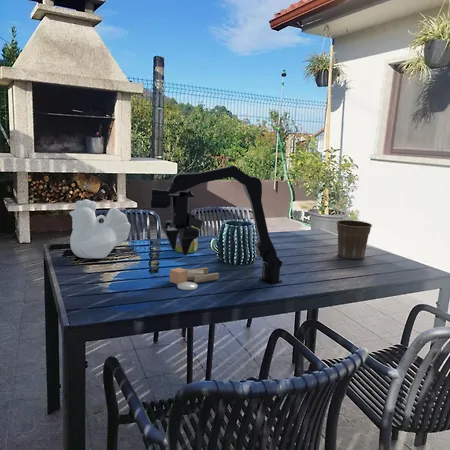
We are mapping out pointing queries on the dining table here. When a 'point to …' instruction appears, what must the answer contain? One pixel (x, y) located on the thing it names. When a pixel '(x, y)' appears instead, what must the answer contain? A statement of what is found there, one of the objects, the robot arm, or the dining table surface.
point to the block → (178, 275)
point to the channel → (205, 276)
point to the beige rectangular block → (194, 274)
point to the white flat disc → (187, 285)
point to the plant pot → (352, 238)
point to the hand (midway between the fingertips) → (179, 252)
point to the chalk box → (191, 249)
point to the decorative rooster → (96, 230)
